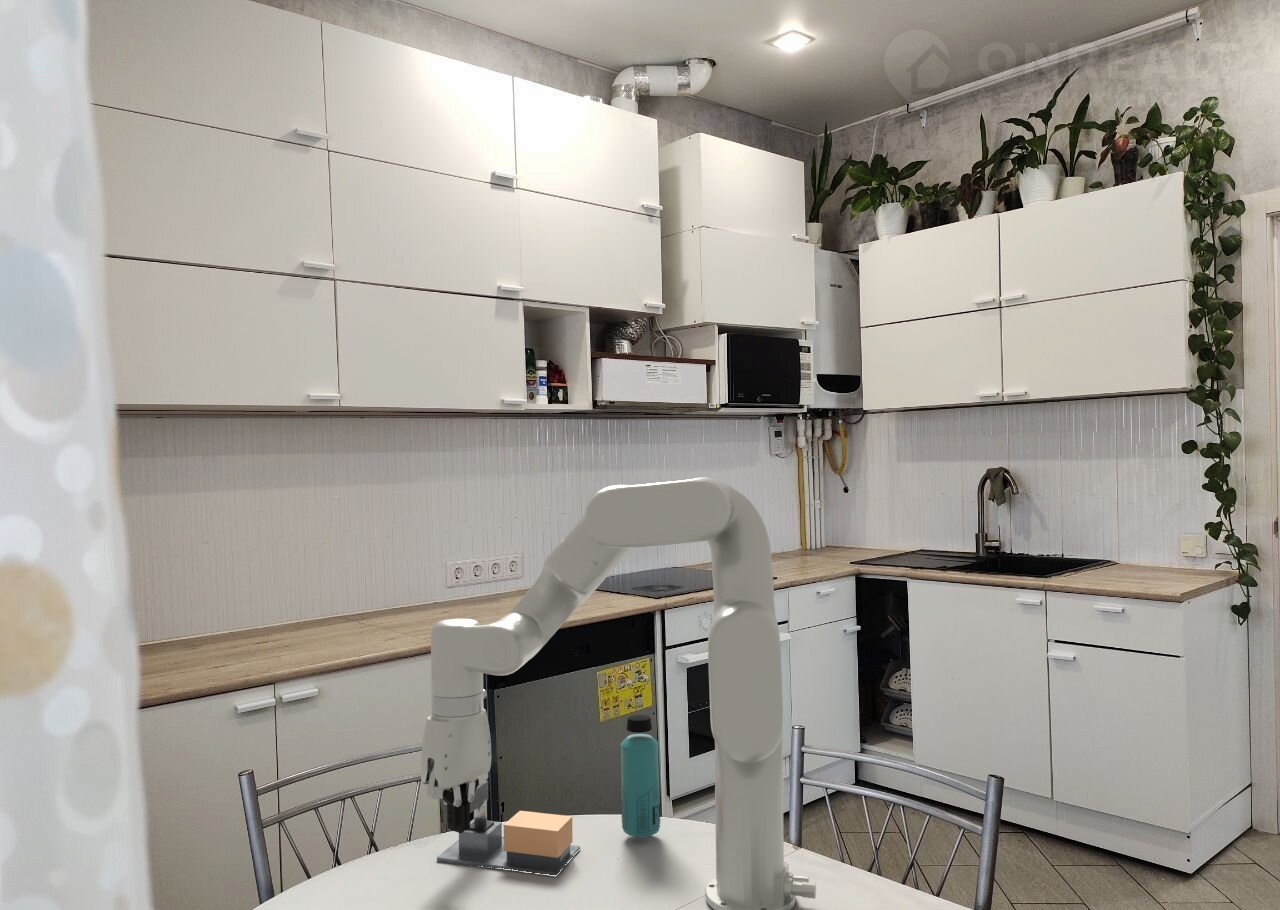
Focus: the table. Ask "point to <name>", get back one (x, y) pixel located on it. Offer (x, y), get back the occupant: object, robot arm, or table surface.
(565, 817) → the cover
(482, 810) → the t key
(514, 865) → the latch base
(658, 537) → the robot arm
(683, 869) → the table surface
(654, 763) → the beverage bottle
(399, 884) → the table surface
